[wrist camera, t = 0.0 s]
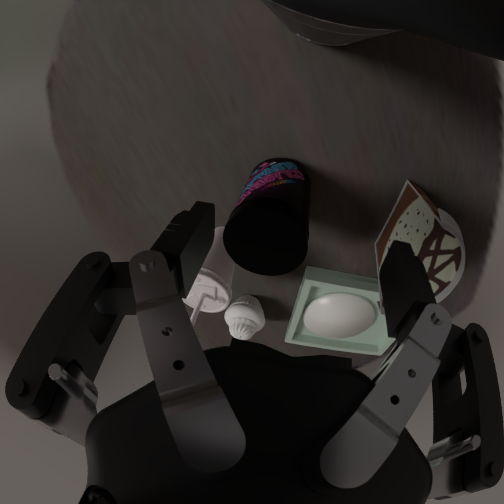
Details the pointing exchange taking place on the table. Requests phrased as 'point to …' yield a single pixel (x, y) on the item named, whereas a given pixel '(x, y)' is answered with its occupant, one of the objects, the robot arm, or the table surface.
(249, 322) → the muffin
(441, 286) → the food container
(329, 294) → the tray
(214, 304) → the smoothie
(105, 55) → the table surface
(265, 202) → the supplement container
